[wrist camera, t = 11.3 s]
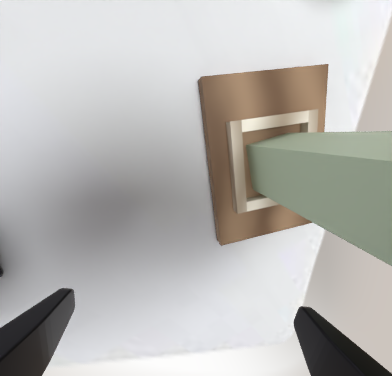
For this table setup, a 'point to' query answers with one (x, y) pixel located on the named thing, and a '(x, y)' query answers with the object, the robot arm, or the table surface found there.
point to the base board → (255, 140)
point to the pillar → (331, 182)
